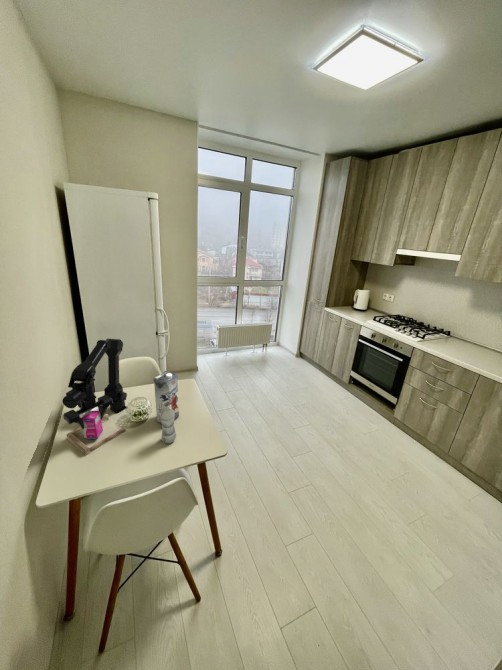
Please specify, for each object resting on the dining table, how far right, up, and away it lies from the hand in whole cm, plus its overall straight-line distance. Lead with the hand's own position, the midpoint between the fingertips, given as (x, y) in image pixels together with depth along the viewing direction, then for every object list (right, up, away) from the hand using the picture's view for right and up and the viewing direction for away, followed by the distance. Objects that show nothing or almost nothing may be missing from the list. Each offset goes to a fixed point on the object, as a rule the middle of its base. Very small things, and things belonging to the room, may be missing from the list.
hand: (92, 423), depth 120 cm
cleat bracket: (+1, -6, +4) cm, 8 cm away
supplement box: (0, -6, +2) cm, 6 cm away
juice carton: (+29, -4, +17) cm, 34 cm away
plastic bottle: (+34, -9, +4) cm, 35 cm away
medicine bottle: (-9, -3, +13) cm, 16 cm away
